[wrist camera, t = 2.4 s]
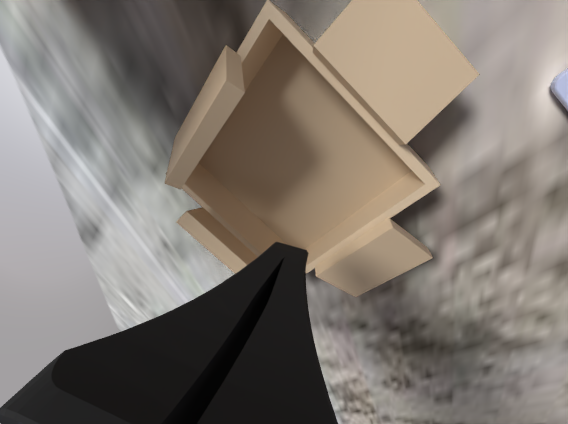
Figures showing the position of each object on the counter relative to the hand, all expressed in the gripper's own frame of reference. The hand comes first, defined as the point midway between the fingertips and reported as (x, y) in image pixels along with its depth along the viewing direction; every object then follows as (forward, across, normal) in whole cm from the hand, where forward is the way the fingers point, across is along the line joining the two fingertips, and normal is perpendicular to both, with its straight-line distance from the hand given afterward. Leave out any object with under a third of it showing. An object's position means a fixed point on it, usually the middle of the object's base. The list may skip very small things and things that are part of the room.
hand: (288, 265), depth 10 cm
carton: (+9, 0, -2) cm, 9 cm away
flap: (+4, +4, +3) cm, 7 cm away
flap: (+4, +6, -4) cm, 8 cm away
